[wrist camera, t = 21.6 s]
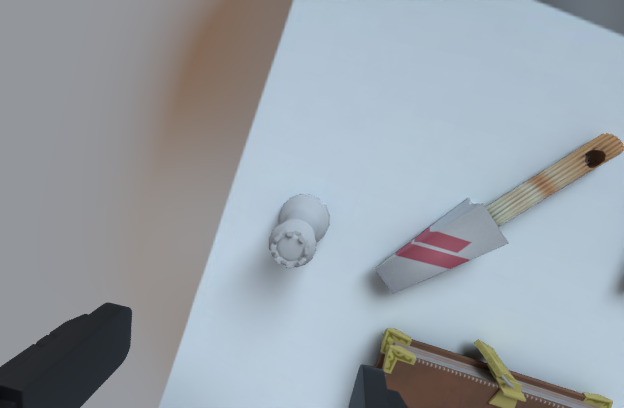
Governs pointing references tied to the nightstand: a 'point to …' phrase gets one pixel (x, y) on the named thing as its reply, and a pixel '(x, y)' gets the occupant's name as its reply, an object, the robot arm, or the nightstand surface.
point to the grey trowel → (486, 220)
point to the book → (467, 379)
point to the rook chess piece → (299, 230)
